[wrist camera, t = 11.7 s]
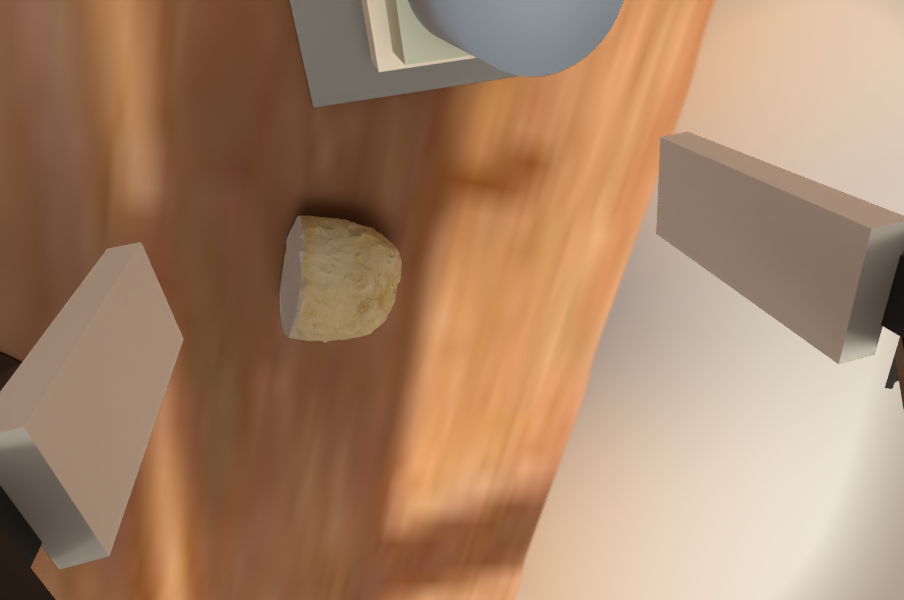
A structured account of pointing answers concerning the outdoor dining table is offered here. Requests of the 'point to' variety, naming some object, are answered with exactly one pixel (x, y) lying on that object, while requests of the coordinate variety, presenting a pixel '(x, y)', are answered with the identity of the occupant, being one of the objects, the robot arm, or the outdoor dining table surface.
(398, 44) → the tower top
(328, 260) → the beige rounded lump
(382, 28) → the tower base
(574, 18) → the grey rounded cylinder
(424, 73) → the mat
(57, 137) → the outdoor dining table surface
